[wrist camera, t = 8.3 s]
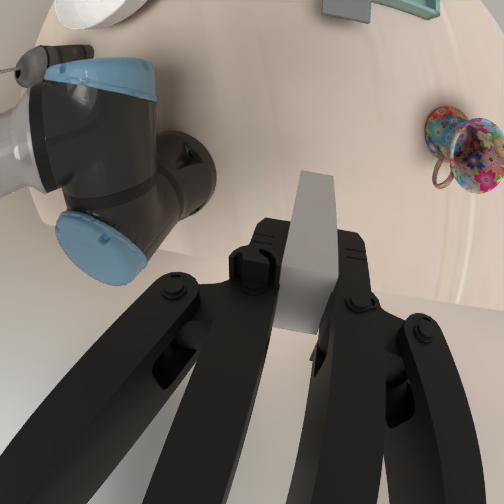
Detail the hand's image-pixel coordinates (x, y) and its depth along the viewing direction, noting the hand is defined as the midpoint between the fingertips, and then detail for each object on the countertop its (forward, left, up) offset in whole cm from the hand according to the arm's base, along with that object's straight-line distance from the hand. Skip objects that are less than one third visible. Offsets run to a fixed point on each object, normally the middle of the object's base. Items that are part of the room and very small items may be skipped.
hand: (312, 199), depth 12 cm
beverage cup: (-40, +12, -27) cm, 50 cm away
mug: (+19, +1, -27) cm, 33 cm away
